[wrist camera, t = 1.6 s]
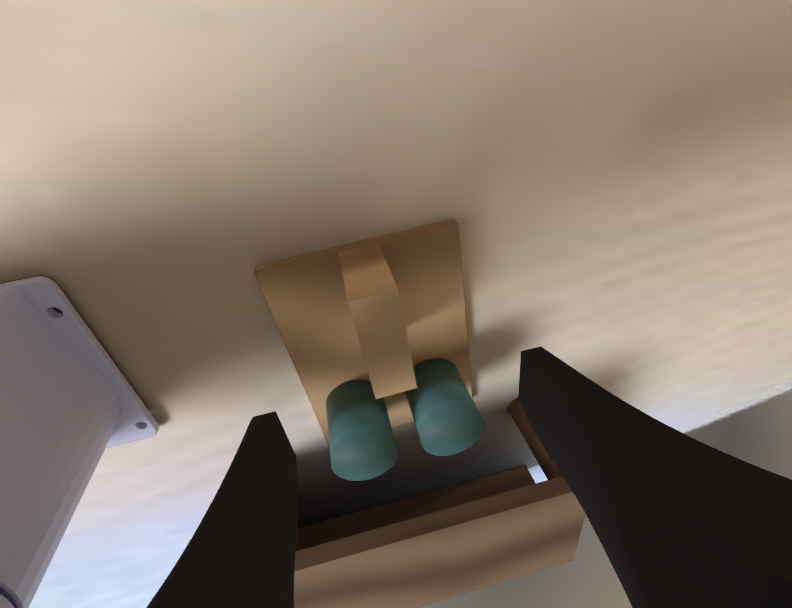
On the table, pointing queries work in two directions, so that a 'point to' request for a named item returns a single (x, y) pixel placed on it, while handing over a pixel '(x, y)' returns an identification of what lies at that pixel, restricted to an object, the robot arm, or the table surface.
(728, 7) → the table surface
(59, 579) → the table surface
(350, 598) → the wooden caddy
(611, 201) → the table surface
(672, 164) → the table surface
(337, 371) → the tray
